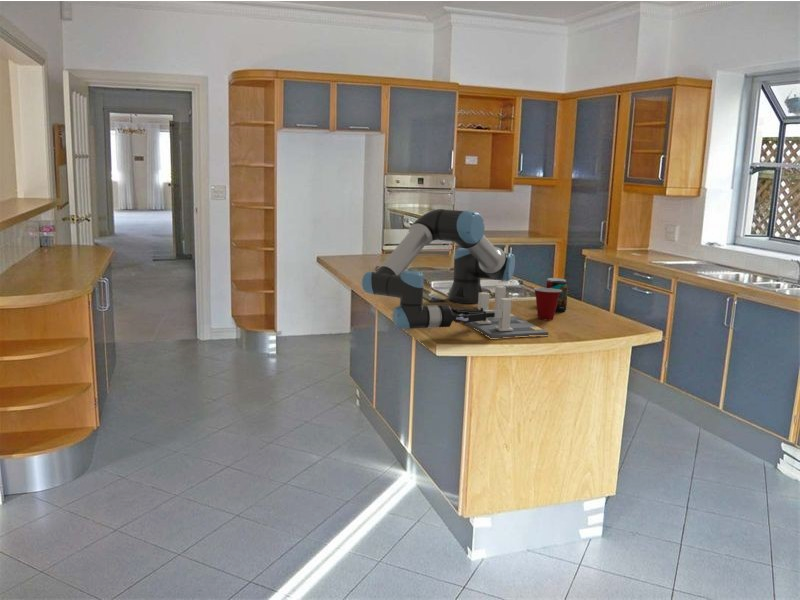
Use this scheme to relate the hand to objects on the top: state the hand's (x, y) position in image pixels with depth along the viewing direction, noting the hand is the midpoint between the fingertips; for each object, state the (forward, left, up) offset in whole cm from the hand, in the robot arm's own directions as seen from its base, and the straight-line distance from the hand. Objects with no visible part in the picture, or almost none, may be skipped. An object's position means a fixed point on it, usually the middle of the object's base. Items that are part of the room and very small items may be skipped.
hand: (501, 313), depth 247 cm
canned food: (-44, +46, -8) cm, 64 cm away
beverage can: (-33, +41, -8) cm, 53 cm away
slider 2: (-23, +10, -6) cm, 26 cm away
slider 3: (-1, +2, -6) cm, 6 cm away
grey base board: (-12, +5, -8) cm, 15 cm away
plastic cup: (-21, +29, -8) cm, 37 cm away
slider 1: (-12, -2, -6) cm, 13 cm away
